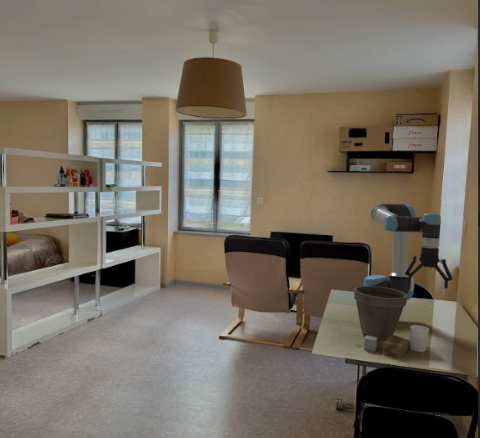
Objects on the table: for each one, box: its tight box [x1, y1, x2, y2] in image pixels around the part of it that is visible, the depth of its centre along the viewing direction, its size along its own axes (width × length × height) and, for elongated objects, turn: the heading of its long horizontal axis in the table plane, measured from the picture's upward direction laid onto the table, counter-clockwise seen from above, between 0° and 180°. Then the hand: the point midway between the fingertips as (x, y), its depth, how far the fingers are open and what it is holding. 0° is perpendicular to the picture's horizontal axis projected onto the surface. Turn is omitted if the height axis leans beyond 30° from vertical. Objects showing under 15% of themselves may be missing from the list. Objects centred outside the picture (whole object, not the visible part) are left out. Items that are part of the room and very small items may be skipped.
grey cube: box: [363, 335, 378, 352], centre depth 195 cm, size 5×5×5 cm
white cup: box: [409, 324, 430, 353], centre depth 197 cm, size 8×8×10 cm
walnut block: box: [382, 335, 409, 359], centre depth 192 cm, size 8×11×5 cm
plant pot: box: [353, 285, 408, 340], centre depth 215 cm, size 25×25×22 cm
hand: (427, 293), depth 201 cm, fingers open, 13 cm apart
